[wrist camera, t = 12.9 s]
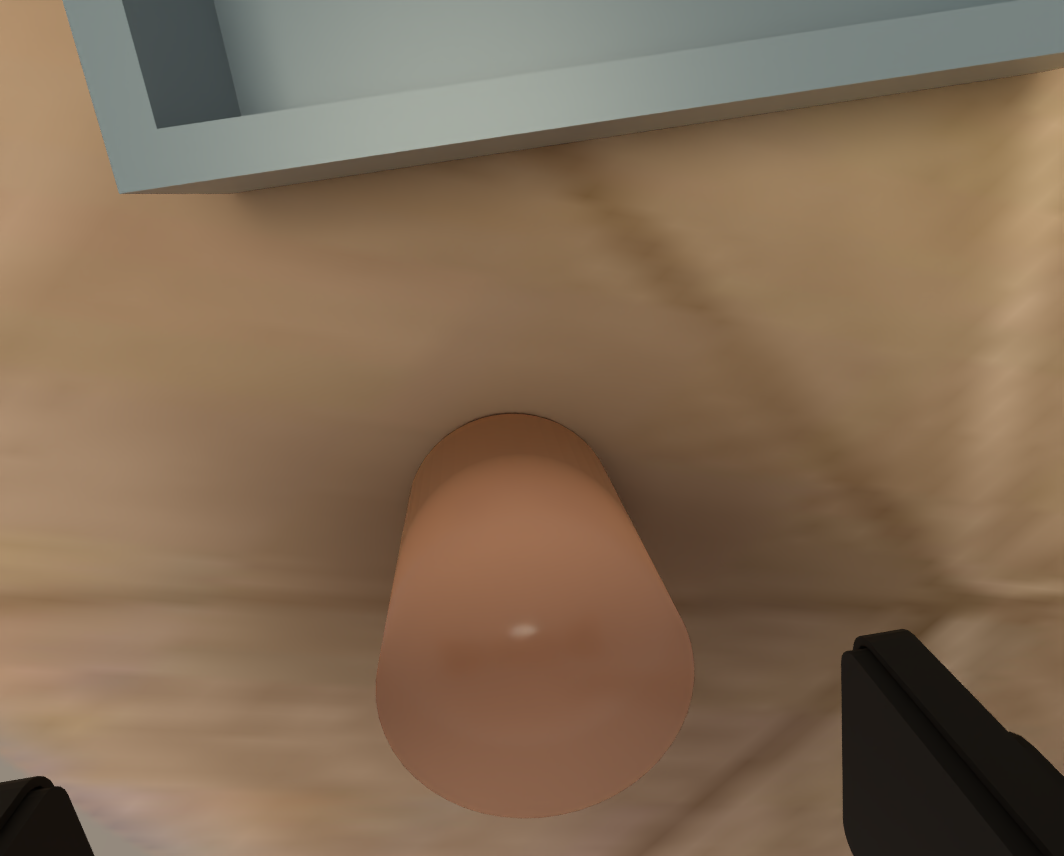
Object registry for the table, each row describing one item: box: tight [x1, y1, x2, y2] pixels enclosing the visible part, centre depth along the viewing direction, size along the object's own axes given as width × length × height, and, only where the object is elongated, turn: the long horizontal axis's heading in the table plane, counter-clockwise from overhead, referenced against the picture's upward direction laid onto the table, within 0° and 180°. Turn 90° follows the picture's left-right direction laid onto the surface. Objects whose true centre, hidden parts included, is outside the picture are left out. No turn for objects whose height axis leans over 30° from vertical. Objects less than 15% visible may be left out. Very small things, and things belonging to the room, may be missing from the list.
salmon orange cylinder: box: [376, 414, 694, 818], centre depth 15 cm, size 5×5×7 cm
